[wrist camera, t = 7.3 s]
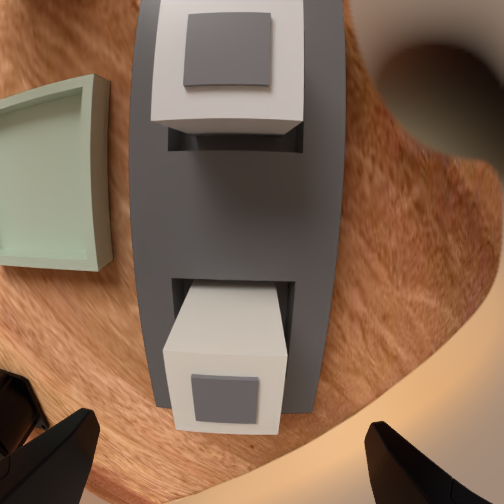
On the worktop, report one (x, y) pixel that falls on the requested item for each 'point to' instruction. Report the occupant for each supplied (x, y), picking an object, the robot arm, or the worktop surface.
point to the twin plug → (229, 67)
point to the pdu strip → (242, 206)
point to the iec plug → (227, 358)
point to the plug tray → (56, 176)
